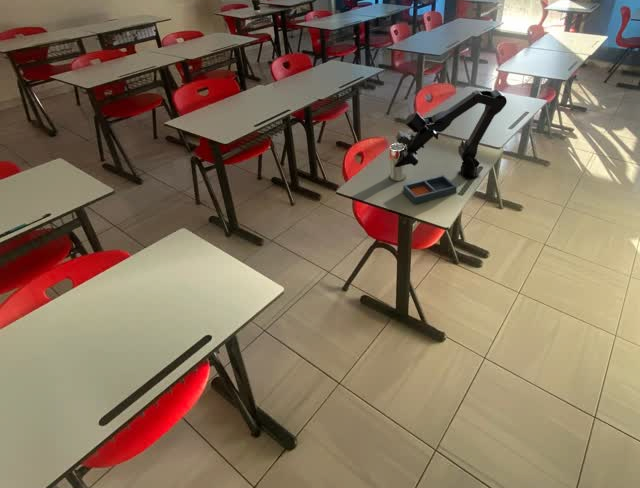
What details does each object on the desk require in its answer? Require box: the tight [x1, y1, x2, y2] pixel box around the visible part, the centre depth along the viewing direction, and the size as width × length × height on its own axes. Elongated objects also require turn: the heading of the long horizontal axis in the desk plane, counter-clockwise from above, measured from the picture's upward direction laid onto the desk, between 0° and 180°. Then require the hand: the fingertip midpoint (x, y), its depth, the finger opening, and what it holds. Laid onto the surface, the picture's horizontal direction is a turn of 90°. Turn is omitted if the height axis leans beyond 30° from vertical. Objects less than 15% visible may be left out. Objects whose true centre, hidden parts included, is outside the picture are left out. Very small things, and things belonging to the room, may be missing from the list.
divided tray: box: [402, 174, 457, 205], centre depth 172 cm, size 19×10×3 cm, turn 115°
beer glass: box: [388, 143, 405, 182], centre depth 178 cm, size 7×7×15 cm
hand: (394, 162), depth 178 cm, fingers closed on beer glass, 7 cm apart
